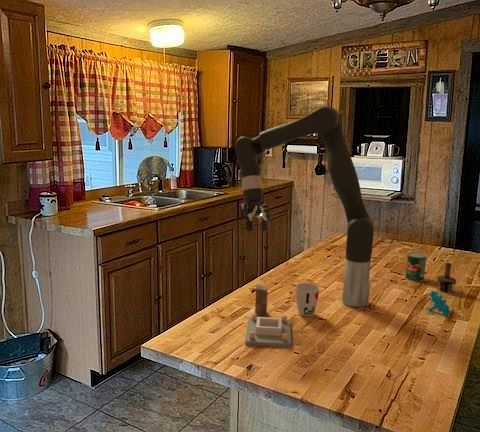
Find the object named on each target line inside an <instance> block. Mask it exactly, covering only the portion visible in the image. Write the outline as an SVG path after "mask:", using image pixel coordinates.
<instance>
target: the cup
mask: <svg viewBox="0 0 480 432" xmlns="http://www.w3.org/2000/svg"><path fill="white" fill-rule="evenodd" d="M319 291H320V287H319V286H318V284H313V283H309V282H307V283H306V282H305V283H303V282H302V283H298V284H296V285H295V300H296V308H297V311H298V314H299V315H300V316H302V317H312V316H314V314H315V311H316V308H317V304H318V300H319Z"/></svg>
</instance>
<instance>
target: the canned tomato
mask: <svg viewBox="0 0 480 432" xmlns="http://www.w3.org/2000/svg"><path fill="white" fill-rule="evenodd" d="M426 265H427V254H425V253H422V252H416V251H415V252H408V253H407V257H406V268H405V276H404V278H405V280H408V281H410V282H417V283H418V282H420V283H421V282H423V281H424V280H425V274H426Z"/></svg>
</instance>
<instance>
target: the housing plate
mask: <svg viewBox="0 0 480 432" xmlns="http://www.w3.org/2000/svg"><path fill="white" fill-rule="evenodd" d="M287 317H288V316H287V315H286V314H285V315H281V317H279V318H278V317H269V316H268V317H267V316H266V317H258V316H257V314H255V313H251V317H248V321H247V327H246V333H245V340H244V344H245V346H259V347H260V346H261V347H262V346H263V347H277V348H292V336H291V334H292V333H291V331H292V330H291V320H290V319H288V318H287Z"/></svg>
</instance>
